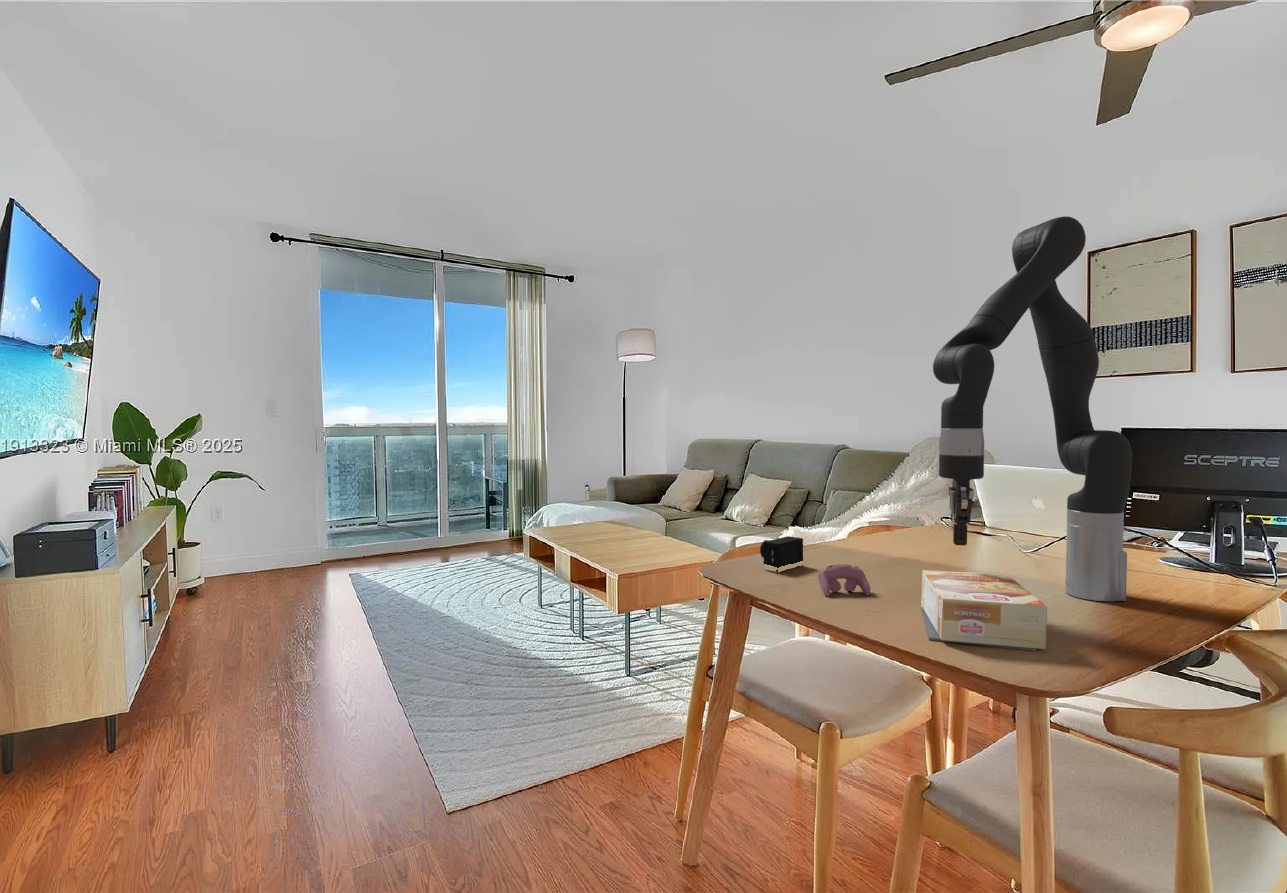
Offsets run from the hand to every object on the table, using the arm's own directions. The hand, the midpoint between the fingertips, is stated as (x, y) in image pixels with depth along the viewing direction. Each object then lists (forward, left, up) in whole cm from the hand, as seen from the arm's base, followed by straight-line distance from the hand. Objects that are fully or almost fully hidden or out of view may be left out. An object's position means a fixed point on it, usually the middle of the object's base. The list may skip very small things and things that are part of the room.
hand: (959, 544), depth 117 cm
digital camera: (+36, -23, -12) cm, 45 cm away
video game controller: (+21, -4, -13) cm, 25 cm away
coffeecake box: (-1, +2, -8) cm, 8 cm away
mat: (-1, +12, -12) cm, 17 cm away
